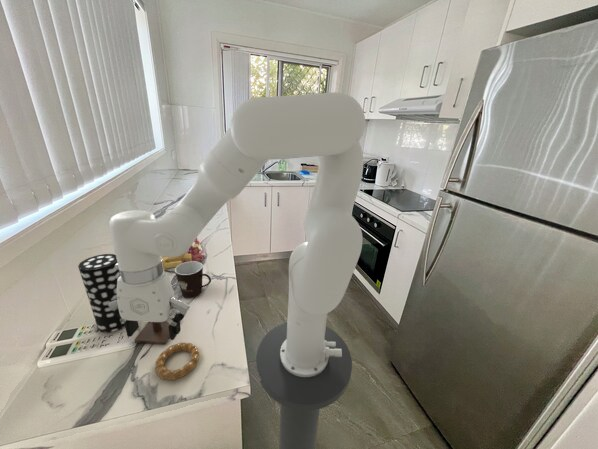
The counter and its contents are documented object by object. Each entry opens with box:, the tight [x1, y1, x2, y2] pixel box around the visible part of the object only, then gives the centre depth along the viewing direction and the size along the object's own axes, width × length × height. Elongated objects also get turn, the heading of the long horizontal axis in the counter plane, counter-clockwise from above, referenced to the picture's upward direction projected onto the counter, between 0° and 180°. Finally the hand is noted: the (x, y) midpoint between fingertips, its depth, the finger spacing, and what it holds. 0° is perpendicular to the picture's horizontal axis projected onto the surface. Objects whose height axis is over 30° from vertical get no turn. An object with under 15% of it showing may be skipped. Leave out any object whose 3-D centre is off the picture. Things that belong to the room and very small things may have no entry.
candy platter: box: [162, 237, 205, 272], centre depth 104 cm, size 25×24×9 cm
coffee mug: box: [174, 261, 212, 299], centre depth 82 cm, size 12×9×10 cm
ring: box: [154, 342, 201, 381], centre depth 59 cm, size 10×10×2 cm
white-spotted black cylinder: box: [77, 253, 125, 333], centre depth 67 cm, size 8×8×20 cm
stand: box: [133, 321, 170, 345], centre depth 66 cm, size 8×8×10 cm
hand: (154, 333), depth 56 cm, fingers open, 9 cm apart
